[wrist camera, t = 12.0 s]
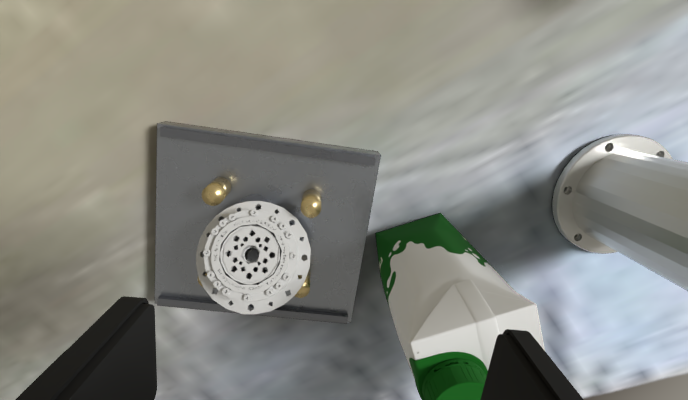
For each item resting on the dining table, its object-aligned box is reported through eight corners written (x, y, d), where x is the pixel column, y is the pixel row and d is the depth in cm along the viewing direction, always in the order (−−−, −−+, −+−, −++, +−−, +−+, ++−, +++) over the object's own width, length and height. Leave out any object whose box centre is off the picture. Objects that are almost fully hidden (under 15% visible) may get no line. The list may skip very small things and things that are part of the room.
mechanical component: (332, 259, 36) (261, 182, 36) (337, 257, 32) (257, 169, 32) (250, 337, 34) (176, 253, 34) (243, 346, 29) (159, 250, 30)
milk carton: (364, 228, 39) (405, 362, 20) (448, 201, 39) (570, 312, 20) (386, 298, 42) (442, 477, 23) (465, 274, 42) (589, 434, 22)
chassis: (377, 151, 37) (386, 161, 32) (349, 311, 42) (353, 340, 37) (166, 121, 35) (141, 126, 30) (162, 293, 40) (141, 321, 35)
